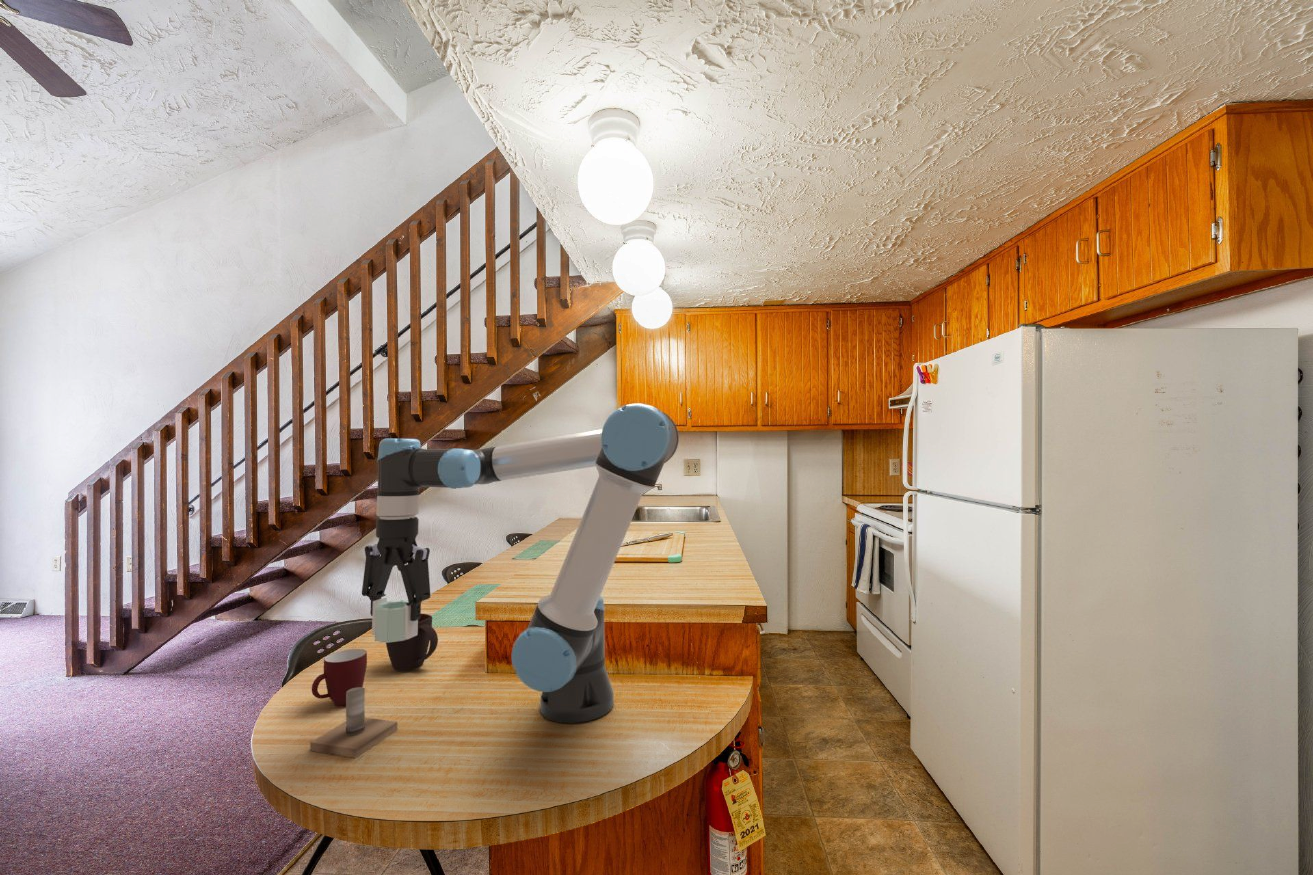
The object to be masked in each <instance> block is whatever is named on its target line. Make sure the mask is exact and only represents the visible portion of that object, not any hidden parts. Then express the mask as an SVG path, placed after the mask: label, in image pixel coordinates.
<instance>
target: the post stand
mask: <svg viewBox="0 0 1313 875" xmlns="http://www.w3.org/2000/svg"><path fill="white" fill-rule="evenodd" d="M365 690H366V689H365V688H364V687H357V688H352V689H350V690H348V691H347V692H346V706H345V721H344V722H343V723H341V724H339V725H337V726H335V727H334V728H331V729H330V730H329V731H326V732H325V733H323V734H322V735H321V736H318V737H317V738H315V739H313V740H312V741H310V742H309V743H310V744H309V751H311V752H315V753H316V752H317V753H322V754H329V755H334V756H340V757H346V758H353V759H357V758H358V757H359V756H361V755H362V754H364V753H366V751H368V750H369V749H371V748H372V747H374V746H375V745H377V744H378V743H380V742H382V741H383V740H385V739H386V738H387V737H389V736H390V735H392V734H394V733H395V732H396V731H398V721H396V720H394V721H393V720H388V719H379V718H373V717H367V716H366V717H365V712H366V710H365V707H366V706H365V705H366V704H365V703H366V702H365V701H366V698H365V695H366V693H365V692H366V691H365Z"/></svg>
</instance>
